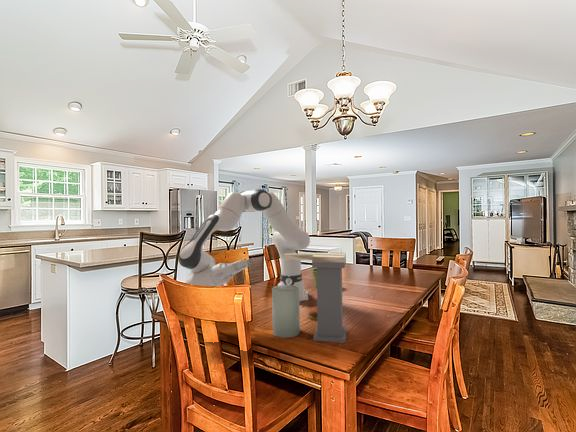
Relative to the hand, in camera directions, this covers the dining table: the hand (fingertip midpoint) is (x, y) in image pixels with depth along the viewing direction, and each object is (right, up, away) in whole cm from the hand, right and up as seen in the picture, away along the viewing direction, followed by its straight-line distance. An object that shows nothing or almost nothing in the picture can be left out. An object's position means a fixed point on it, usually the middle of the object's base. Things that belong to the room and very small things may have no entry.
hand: (250, 260), depth 131 cm
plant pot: (+37, -27, +69) cm, 83 cm away
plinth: (+32, -28, -7) cm, 44 cm away
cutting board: (+26, +1, -6) cm, 27 cm away
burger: (+30, -28, +14) cm, 44 cm away
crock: (+15, -29, -3) cm, 33 cm away
